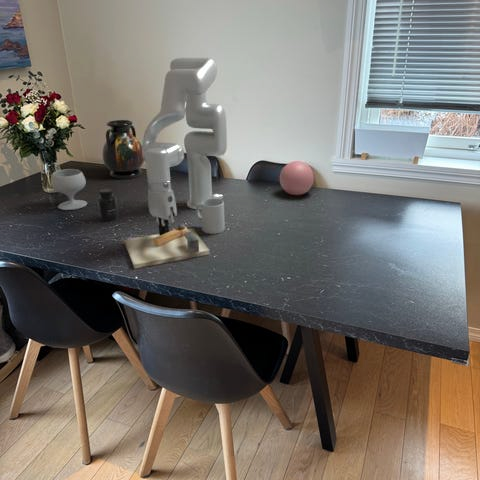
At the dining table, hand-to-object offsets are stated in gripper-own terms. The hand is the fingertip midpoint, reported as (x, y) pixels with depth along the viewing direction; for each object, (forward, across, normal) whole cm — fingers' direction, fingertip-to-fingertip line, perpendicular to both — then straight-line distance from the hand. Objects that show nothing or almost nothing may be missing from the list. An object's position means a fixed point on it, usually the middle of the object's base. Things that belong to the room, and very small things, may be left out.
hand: (164, 234), depth 152 cm
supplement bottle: (+3, +34, 0) cm, 34 cm away
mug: (+3, -5, -18) cm, 19 cm away
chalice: (+3, +60, +1) cm, 60 cm away
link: (+1, -3, -1) cm, 3 cm away
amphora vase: (+3, +80, -42) cm, 91 cm away
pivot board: (+3, -5, +4) cm, 7 cm away
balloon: (+3, -8, -74) cm, 75 cm away
